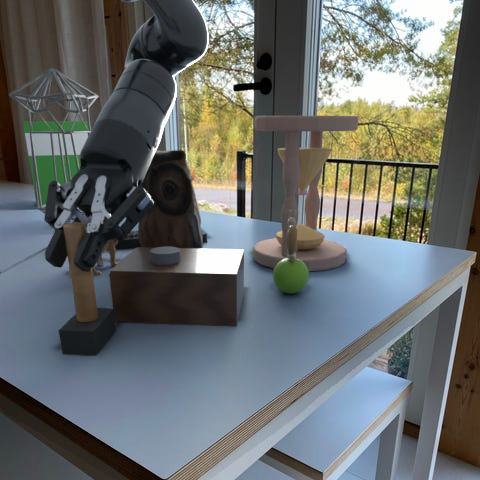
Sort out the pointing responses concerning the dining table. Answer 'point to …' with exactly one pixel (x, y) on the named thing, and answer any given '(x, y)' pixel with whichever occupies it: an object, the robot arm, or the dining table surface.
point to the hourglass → (303, 190)
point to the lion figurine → (112, 251)
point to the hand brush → (84, 305)
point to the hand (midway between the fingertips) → (67, 265)
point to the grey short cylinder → (165, 255)
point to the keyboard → (134, 241)
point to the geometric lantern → (37, 89)
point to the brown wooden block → (179, 288)
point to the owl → (170, 204)
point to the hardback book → (45, 152)
